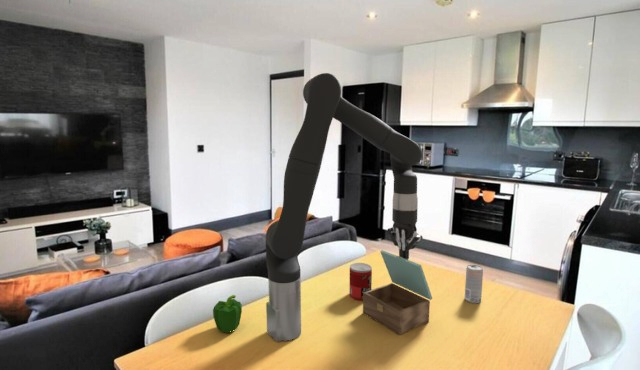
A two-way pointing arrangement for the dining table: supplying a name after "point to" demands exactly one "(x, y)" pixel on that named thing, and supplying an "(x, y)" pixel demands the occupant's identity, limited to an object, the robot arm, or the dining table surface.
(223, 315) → the bell pepper
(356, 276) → the canned food
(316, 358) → the dining table surface
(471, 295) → the energy drink
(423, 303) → the box
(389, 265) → the lid
